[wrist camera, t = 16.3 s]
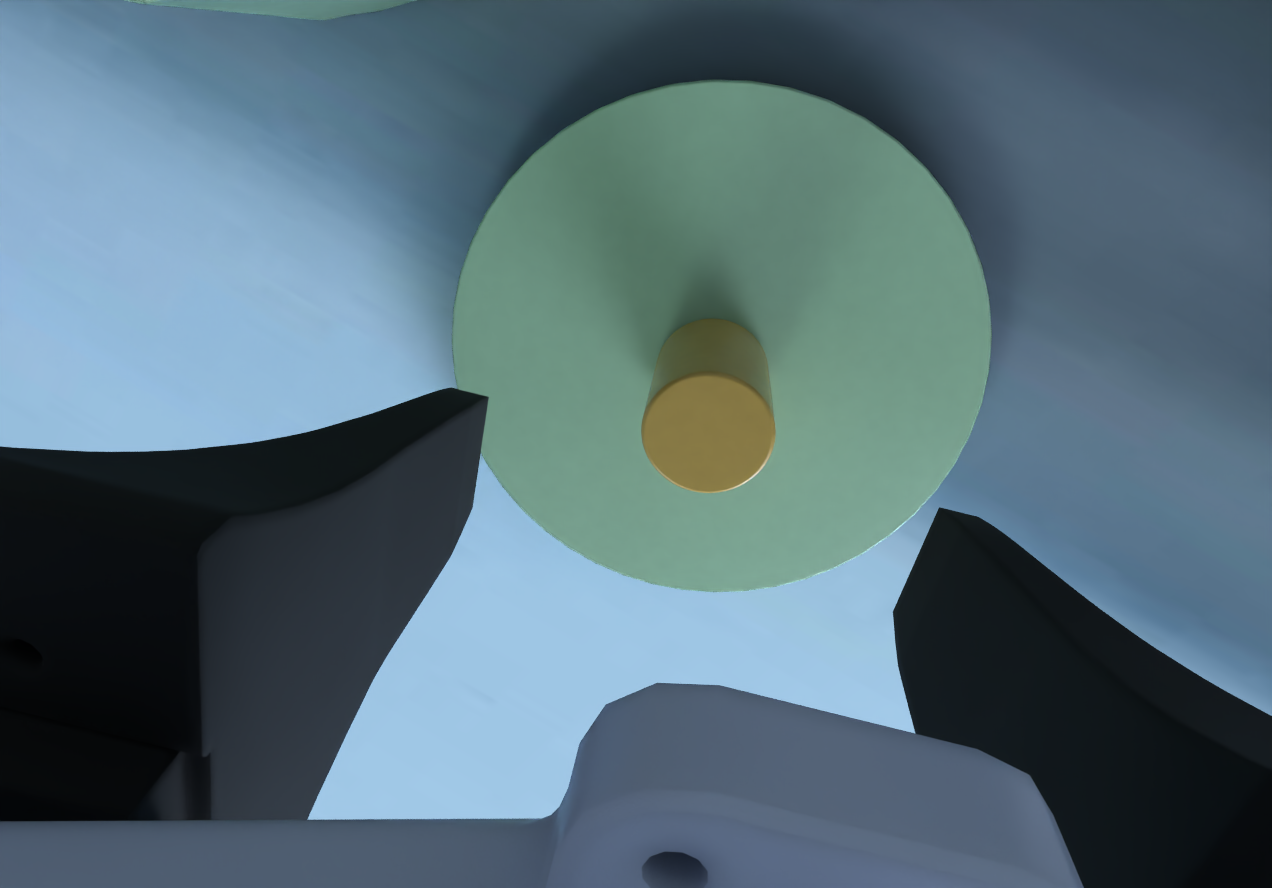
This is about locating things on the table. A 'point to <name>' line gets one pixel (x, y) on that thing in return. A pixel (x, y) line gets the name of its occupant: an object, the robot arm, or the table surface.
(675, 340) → the lid
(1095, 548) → the table surface
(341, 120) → the table surface
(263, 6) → the tin
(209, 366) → the table surface
